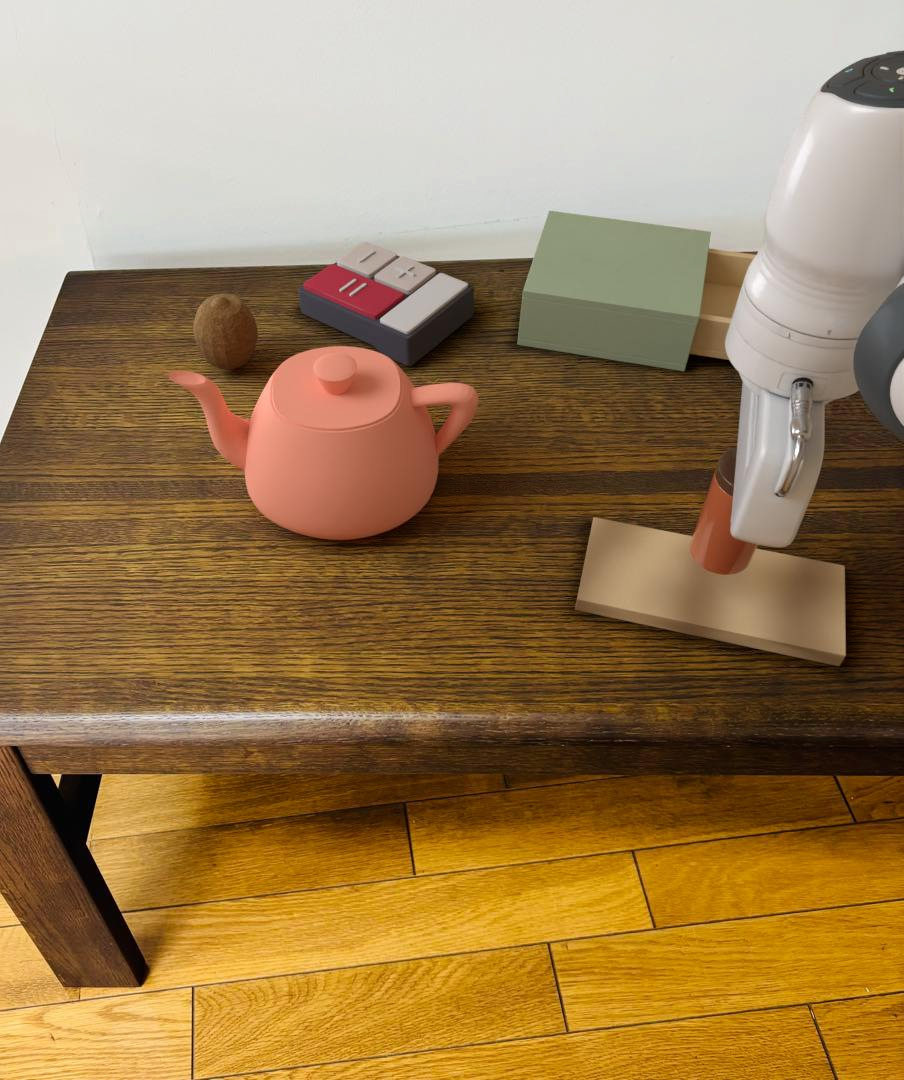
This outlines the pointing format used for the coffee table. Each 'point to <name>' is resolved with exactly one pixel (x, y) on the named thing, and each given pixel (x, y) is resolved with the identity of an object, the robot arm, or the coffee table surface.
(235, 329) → the fruit
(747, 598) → the board
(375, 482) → the teapot
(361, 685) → the coffee table surface
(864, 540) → the coffee table surface
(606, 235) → the cabinet
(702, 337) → the drawer
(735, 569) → the spice jar
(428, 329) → the calculator
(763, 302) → the robot arm
